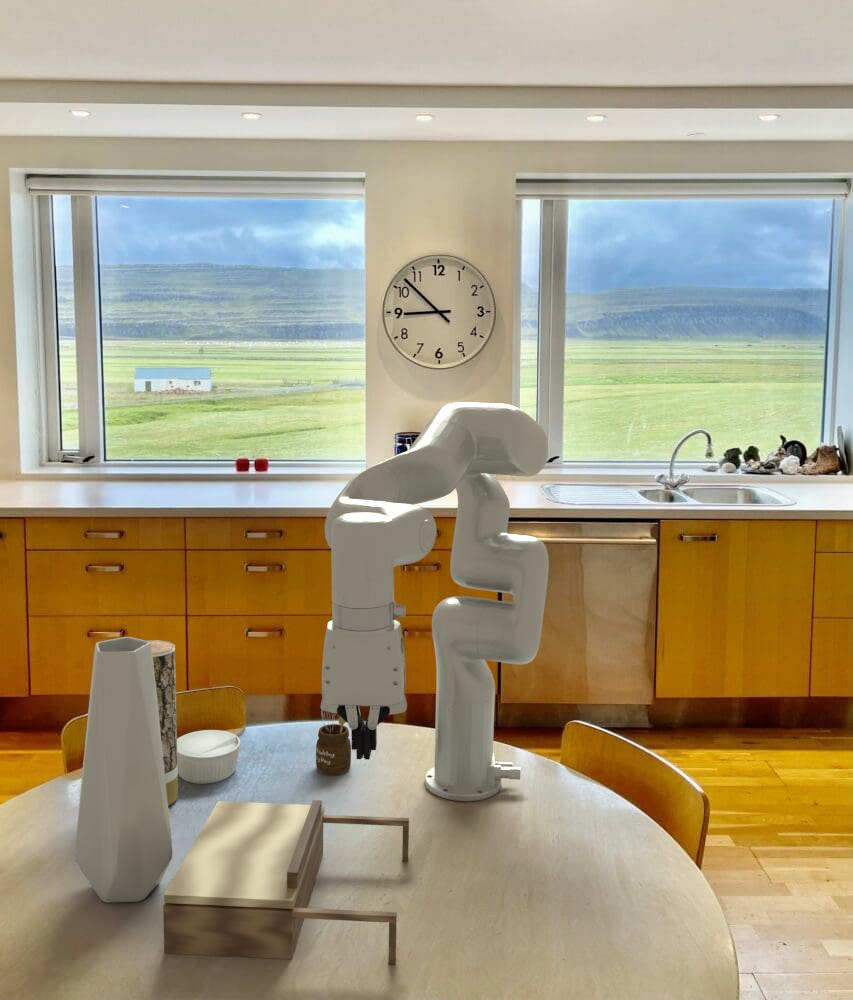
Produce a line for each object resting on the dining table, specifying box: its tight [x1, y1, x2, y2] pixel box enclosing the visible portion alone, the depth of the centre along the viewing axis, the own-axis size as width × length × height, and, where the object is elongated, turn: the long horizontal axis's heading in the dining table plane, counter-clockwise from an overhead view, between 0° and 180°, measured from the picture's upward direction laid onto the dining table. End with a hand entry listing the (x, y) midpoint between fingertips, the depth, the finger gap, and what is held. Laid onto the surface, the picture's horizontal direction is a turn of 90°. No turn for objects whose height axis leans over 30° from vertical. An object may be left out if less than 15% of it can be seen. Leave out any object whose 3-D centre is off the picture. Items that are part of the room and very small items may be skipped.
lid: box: [163, 799, 325, 909], centre depth 117 cm, size 15×23×3 cm, turn 177°
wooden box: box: [162, 814, 410, 965], centre depth 117 cm, size 27×23×6 cm
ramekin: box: [177, 729, 242, 785], centre depth 154 cm, size 11×11×5 cm
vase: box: [74, 636, 173, 904], centre depth 117 cm, size 12×12×33 cm
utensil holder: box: [315, 708, 352, 776], centre depth 155 cm, size 6×6×12 cm
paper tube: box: [147, 639, 179, 807], centre depth 142 cm, size 7×7×25 cm
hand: (364, 754), depth 115 cm, fingers closed
